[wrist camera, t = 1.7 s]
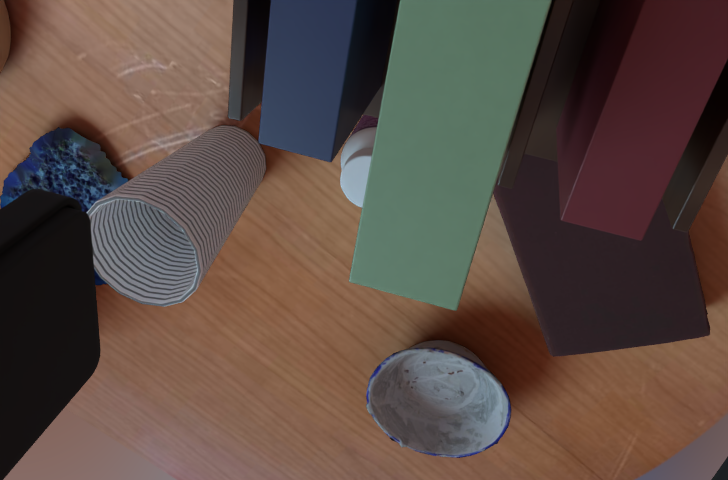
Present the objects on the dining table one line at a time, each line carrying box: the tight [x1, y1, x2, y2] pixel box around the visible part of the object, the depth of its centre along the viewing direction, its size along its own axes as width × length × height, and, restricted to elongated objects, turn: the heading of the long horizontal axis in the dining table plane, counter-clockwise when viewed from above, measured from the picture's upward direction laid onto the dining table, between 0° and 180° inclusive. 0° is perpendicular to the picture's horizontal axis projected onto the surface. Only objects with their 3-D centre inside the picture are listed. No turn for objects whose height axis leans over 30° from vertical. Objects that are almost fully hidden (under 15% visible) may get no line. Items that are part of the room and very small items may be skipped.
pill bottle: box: [340, 114, 379, 208], centre depth 47 cm, size 5×5×10 cm
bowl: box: [366, 340, 511, 458], centre depth 60 cm, size 13×13×5 cm
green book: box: [349, 0, 552, 310], centre depth 21 cm, size 9×3×15 cm, turn 171°
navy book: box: [258, 0, 397, 162], centre depth 25 cm, size 9×3×8 cm, turn 170°
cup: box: [87, 125, 266, 307], centre depth 49 cm, size 8×8×16 cm
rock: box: [0, 128, 128, 285], centre depth 62 cm, size 15×17×2 cm
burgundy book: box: [556, 0, 728, 240], centre depth 23 cm, size 9×3×8 cm, turn 171°
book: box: [493, 154, 710, 357], centre depth 50 cm, size 12×19×3 cm, turn 23°
